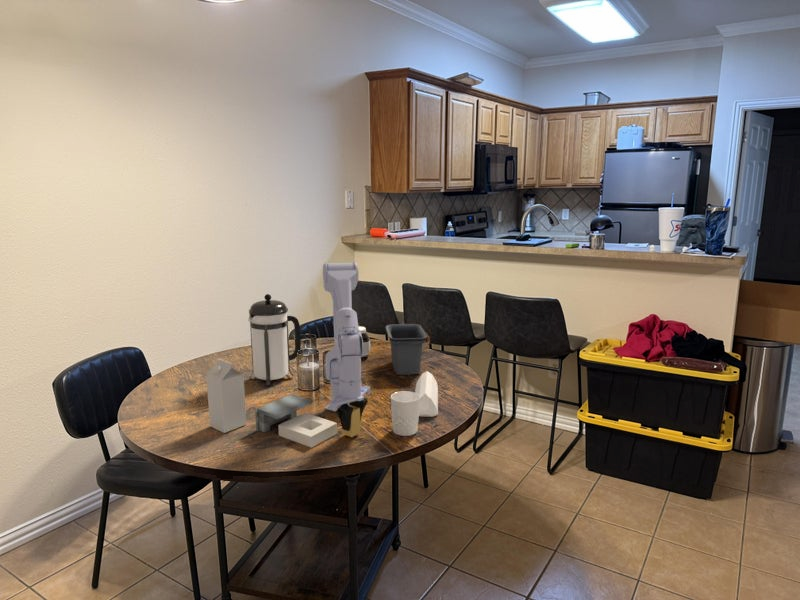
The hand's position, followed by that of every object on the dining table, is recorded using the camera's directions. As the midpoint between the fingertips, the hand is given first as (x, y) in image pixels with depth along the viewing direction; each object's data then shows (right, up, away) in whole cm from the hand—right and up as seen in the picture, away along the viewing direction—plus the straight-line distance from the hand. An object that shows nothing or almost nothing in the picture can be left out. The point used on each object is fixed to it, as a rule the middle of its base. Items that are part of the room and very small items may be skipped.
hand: (350, 426), depth 144 cm
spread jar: (-4, +11, +66) cm, 67 cm away
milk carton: (-35, -1, +6) cm, 35 cm away
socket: (-12, -2, +1) cm, 12 cm away
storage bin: (+16, +9, +55) cm, 58 cm away
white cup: (+15, -2, +4) cm, 15 cm away
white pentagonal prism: (+21, +2, +23) cm, 31 cm away
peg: (0, -2, 0) cm, 2 cm away
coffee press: (-31, +6, +44) cm, 54 cm away
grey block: (-19, -1, +6) cm, 20 cm away
